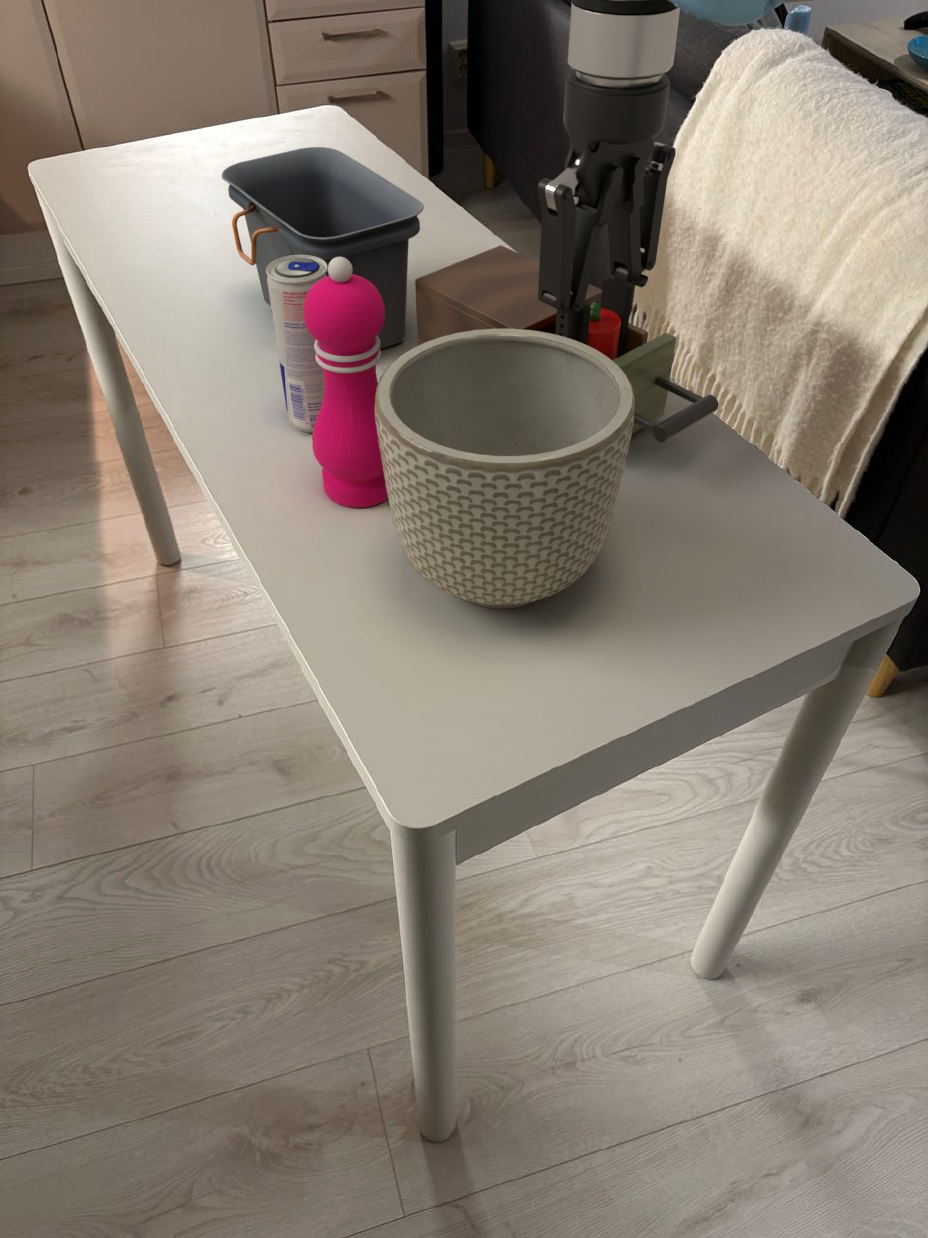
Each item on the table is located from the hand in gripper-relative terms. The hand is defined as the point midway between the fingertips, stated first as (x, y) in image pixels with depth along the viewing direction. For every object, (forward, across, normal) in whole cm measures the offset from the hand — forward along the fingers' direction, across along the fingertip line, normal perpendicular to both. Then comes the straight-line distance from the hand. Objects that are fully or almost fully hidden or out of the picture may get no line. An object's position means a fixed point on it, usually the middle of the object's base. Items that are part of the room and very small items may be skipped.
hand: (590, 362), depth 86 cm
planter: (+6, +21, +10) cm, 24 cm away
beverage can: (+6, +18, -17) cm, 26 cm away
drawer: (+5, 0, +2) cm, 6 cm away
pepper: (0, 0, 0) cm, 0 cm away
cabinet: (+6, 0, -10) cm, 12 cm away
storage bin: (+6, +7, -31) cm, 32 cm away
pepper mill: (+6, +22, -6) cm, 23 cm away
